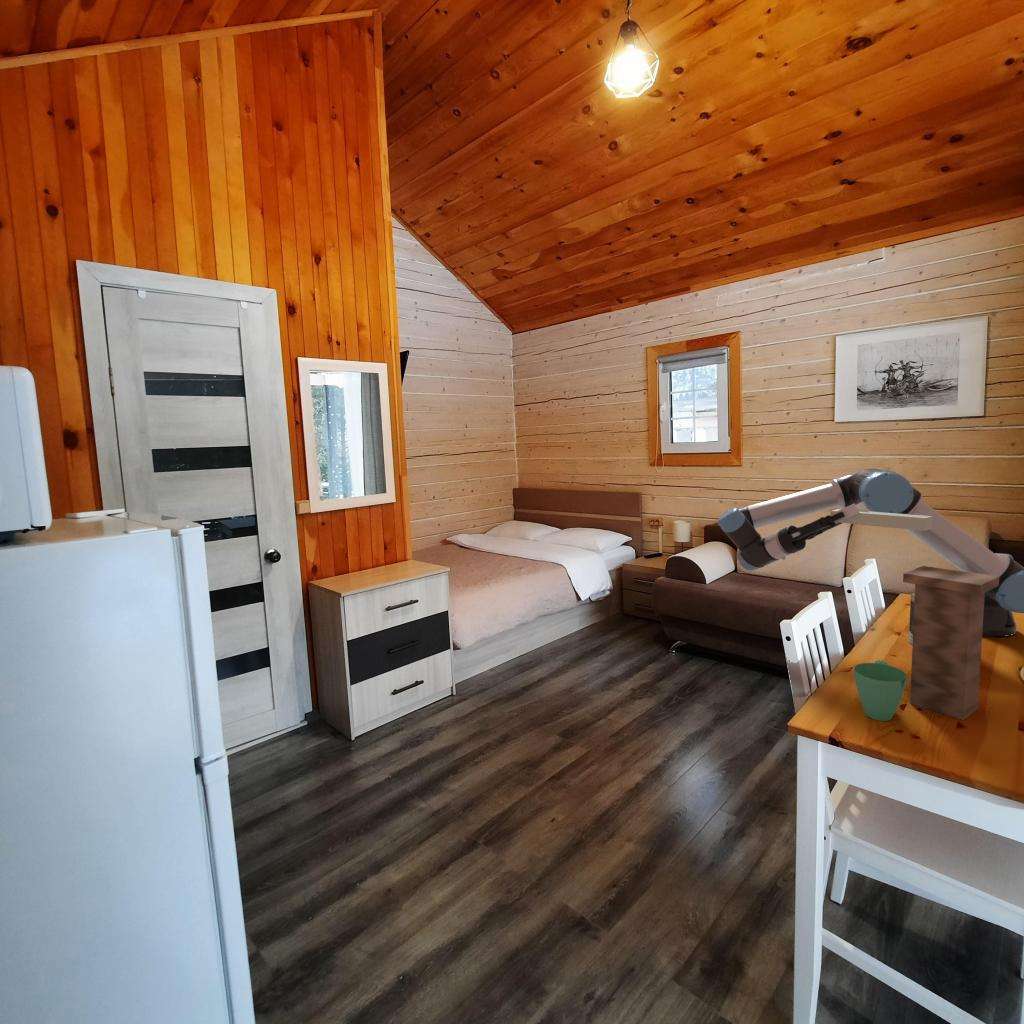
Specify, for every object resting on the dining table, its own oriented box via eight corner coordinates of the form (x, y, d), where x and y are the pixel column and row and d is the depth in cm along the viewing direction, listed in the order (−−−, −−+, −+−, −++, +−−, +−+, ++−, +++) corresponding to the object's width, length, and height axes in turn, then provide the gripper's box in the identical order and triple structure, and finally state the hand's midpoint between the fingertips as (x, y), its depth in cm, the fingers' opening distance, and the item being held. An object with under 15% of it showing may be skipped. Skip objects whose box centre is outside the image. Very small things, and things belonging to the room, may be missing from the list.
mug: (906, 730, 119) (908, 684, 118) (851, 720, 124) (852, 675, 123) (904, 701, 131) (906, 659, 130) (854, 693, 137) (855, 652, 135)
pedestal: (898, 701, 131) (903, 573, 127) (917, 689, 137) (923, 565, 133) (972, 725, 120) (981, 585, 116) (990, 710, 125) (999, 576, 121)
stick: (830, 521, 154) (830, 510, 153) (837, 520, 156) (838, 509, 156) (924, 530, 136) (925, 518, 135) (932, 528, 138) (932, 516, 137)
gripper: (808, 549, 171) (884, 516, 152) (774, 558, 161) (851, 524, 143) (796, 526, 173) (869, 491, 154) (762, 534, 163) (836, 497, 145)
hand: (860, 507), depth 149 cm, fingers closed on stick, 4 cm apart
